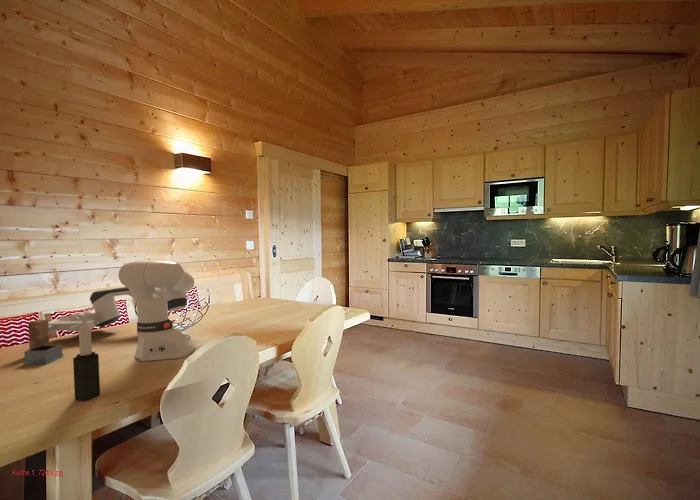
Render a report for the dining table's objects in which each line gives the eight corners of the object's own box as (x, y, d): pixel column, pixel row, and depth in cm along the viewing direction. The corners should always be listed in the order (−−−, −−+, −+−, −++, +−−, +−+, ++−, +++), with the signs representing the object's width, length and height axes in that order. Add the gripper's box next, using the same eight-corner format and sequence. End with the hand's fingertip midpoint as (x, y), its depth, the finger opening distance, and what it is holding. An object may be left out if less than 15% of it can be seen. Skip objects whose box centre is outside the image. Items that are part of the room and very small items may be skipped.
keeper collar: (63, 356, 147) (62, 344, 146) (46, 363, 138) (45, 351, 138) (42, 356, 146) (41, 344, 146) (23, 364, 138) (23, 351, 137)
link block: (49, 351, 153) (48, 319, 153) (40, 355, 149) (39, 322, 148) (38, 351, 153) (37, 319, 152) (29, 355, 148) (28, 322, 148)
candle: (86, 401, 106) (83, 318, 105) (72, 400, 107) (69, 318, 106) (101, 393, 111) (98, 314, 110) (88, 392, 112) (85, 314, 111)
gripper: (101, 328, 176) (81, 335, 162) (59, 328, 175) (35, 336, 161) (101, 315, 175) (81, 322, 161) (58, 316, 174) (35, 323, 161)
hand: (58, 329), depth 161 cm, fingers open, 8 cm apart
